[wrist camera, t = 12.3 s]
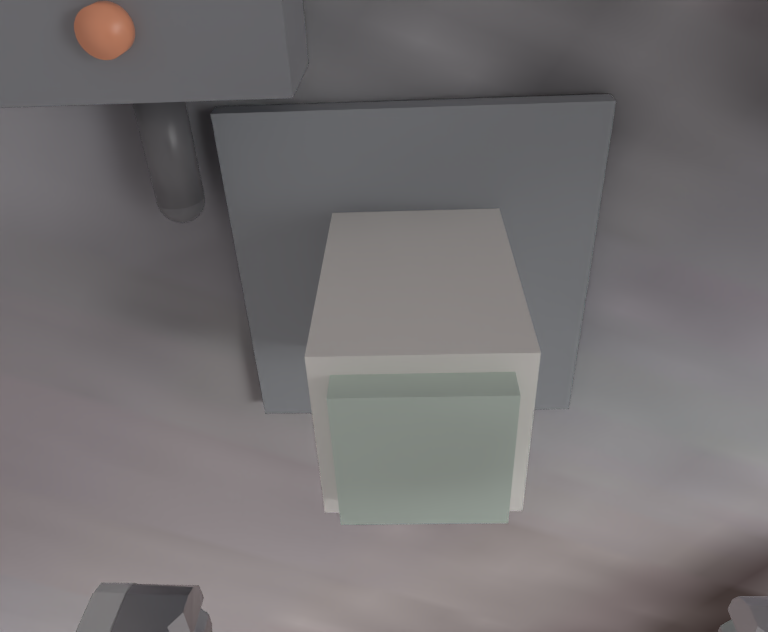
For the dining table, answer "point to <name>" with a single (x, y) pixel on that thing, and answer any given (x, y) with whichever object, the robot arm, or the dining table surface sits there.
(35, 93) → the power strip
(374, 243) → the block
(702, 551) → the dining table surface
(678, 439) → the dining table surface
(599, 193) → the mat
